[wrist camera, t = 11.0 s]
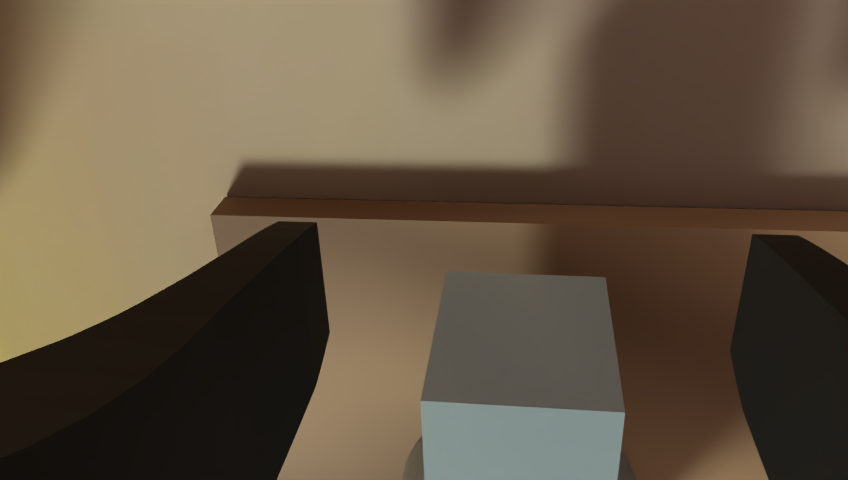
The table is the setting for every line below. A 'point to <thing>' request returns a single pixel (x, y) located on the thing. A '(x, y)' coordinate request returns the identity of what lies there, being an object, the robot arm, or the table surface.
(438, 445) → the grey block
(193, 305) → the robot arm
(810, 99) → the table surface
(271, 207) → the cradle
